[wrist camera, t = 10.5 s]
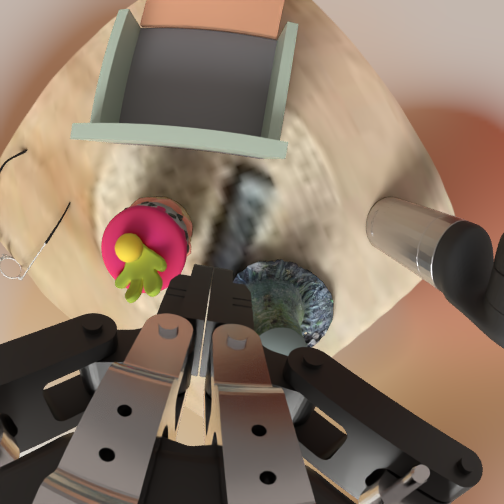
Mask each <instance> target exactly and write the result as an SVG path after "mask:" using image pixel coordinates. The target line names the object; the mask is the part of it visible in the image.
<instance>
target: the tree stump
mask: <svg viewBox="0 0 504 504" xmlns="http://www.w3.org/2000/svg"><path fill="white" fill-rule="evenodd" d="M233 283H237V284H244V285H245V286H246V287H247V288H248V289H249V291H250V292H251V299H252V301H251V302H252V310H253V320H254V330H255V332H256V333H257V334H258V335H259V337H260V339H261V342H262V345H263V346H264V347H266V348H268V349H270V350H272V351H274V352H277V353H280V354H283V355H286V356H288V355H289V353H290V352H291V351H292V350H294V349H296V348H299V347H312V346H314V345H315V344H316V343H318V342H319V340H320V339H321V338H322V337H323V336H324V335H325V334H326V332H327V330H328V328H329V326H330V324H331V322H332V319H333V299H332V296H331V293H330V292H329V290H328V289H327V287H326V286H325V284H324V283H323V282H322V281H321V280H320V279H319V278H317V276H315V275H314V274H312V272H310V271H308V270H306V269H303V268H302V267H299V266H297V264H296V263H293V262H284V261H283V260H276V261H275V262H274V261H269V262H266V261H259V262H256V263H253V264H251V265H249V266H248V267H247V269H245V270H244V271H243V272H241V273H238V275H237V276H236V277H235V279H234V281H233ZM305 332H307V334H306V335H305V334H304V333H305Z"/></svg>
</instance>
